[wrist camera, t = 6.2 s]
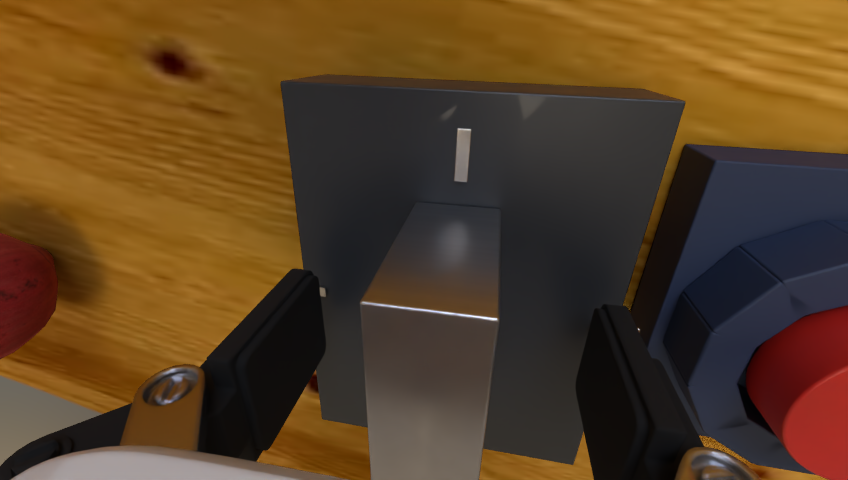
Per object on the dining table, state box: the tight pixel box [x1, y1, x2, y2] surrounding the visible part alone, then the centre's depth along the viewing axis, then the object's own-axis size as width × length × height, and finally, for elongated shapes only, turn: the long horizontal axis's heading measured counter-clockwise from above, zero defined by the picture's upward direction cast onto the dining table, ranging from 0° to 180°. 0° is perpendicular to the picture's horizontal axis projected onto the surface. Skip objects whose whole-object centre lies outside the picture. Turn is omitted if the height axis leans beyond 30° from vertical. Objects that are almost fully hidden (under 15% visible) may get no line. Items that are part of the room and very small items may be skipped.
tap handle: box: [360, 202, 501, 480], centre depth 10 cm, size 7×2×5 cm, turn 179°
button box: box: [630, 144, 848, 475], centre depth 12 cm, size 10×8×4 cm
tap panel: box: [281, 75, 685, 465], centre depth 14 cm, size 13×11×3 cm
